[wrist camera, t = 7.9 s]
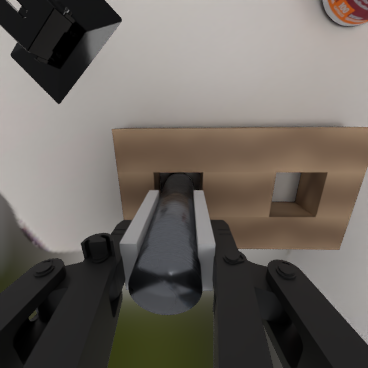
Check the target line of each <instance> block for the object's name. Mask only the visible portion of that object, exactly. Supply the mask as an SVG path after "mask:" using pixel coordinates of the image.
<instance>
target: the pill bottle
mask: <svg viewBox="0 0 368 368" xmlns="http://www.w3.org/2000/svg"><path fill="white" fill-rule="evenodd" d="M323 5H324V8H325V11H326V13H327V14H328V16H329V17H330V18H331V19H332V20H333V21H335V22H336V23H338V24H340V25H344V26H356V25H361V24H364V23H366V22H368V0H323Z"/></svg>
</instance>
